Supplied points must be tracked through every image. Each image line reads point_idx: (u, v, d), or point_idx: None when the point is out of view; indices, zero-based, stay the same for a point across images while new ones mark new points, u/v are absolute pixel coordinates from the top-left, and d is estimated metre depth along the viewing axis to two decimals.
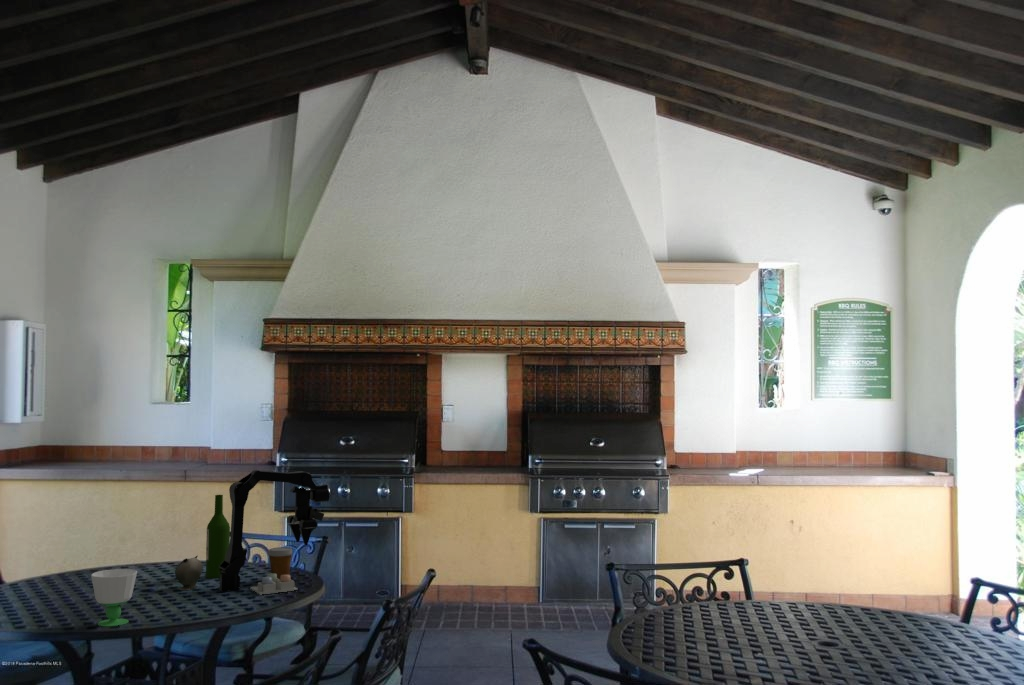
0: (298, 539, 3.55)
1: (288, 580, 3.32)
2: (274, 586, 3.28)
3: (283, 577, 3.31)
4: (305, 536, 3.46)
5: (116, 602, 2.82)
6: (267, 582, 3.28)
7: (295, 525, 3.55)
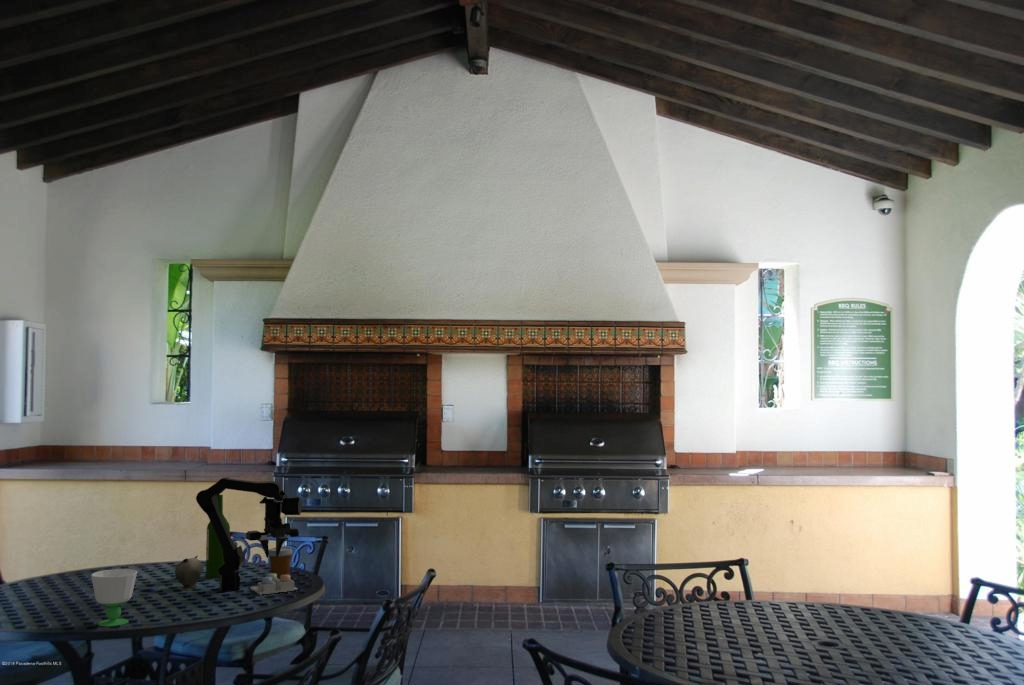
0: (276, 554, 3.37)
1: (288, 580, 3.32)
2: (274, 586, 3.28)
3: (283, 577, 3.31)
4: (263, 548, 3.35)
5: (116, 602, 2.82)
6: (267, 582, 3.28)
7: (277, 538, 3.38)
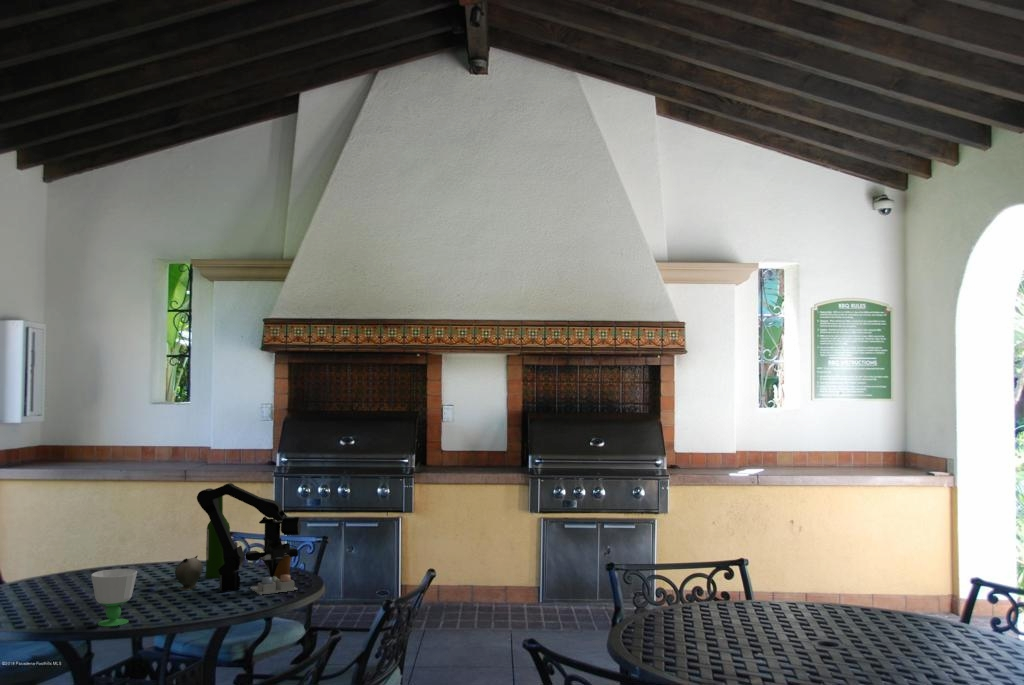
0: None
1: (288, 580, 3.32)
2: (274, 586, 3.28)
3: (283, 577, 3.31)
4: (267, 567, 3.35)
5: (116, 602, 2.82)
6: (267, 582, 3.28)
7: (272, 559, 3.37)
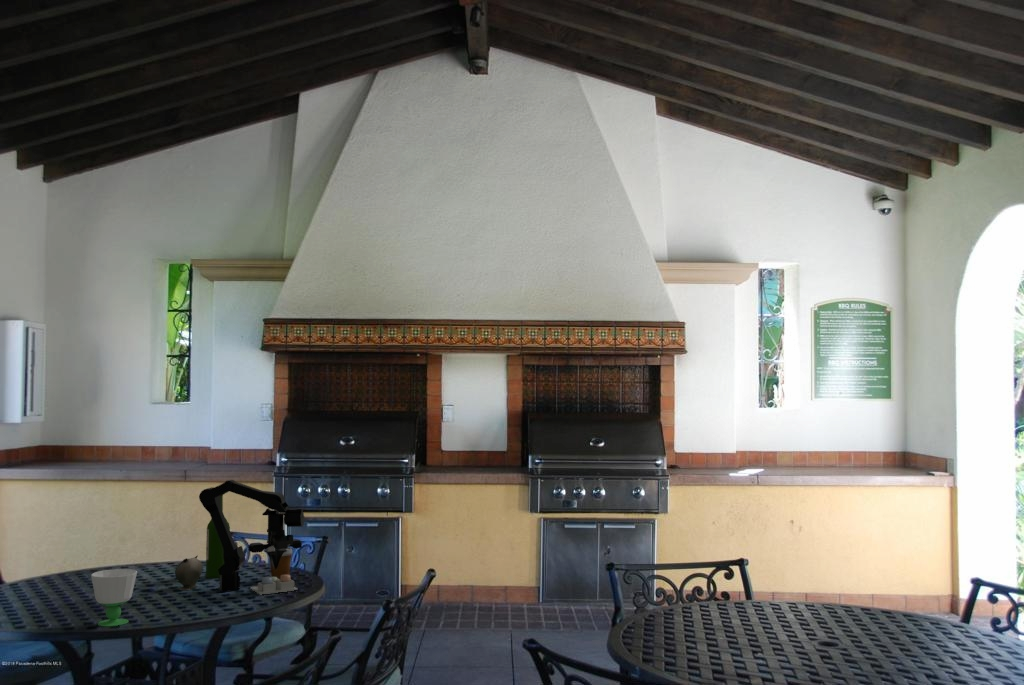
0: None
1: (288, 580, 3.32)
2: (274, 586, 3.28)
3: (283, 577, 3.31)
4: (271, 559, 3.35)
5: (116, 602, 2.82)
6: (267, 582, 3.28)
7: (276, 550, 3.37)
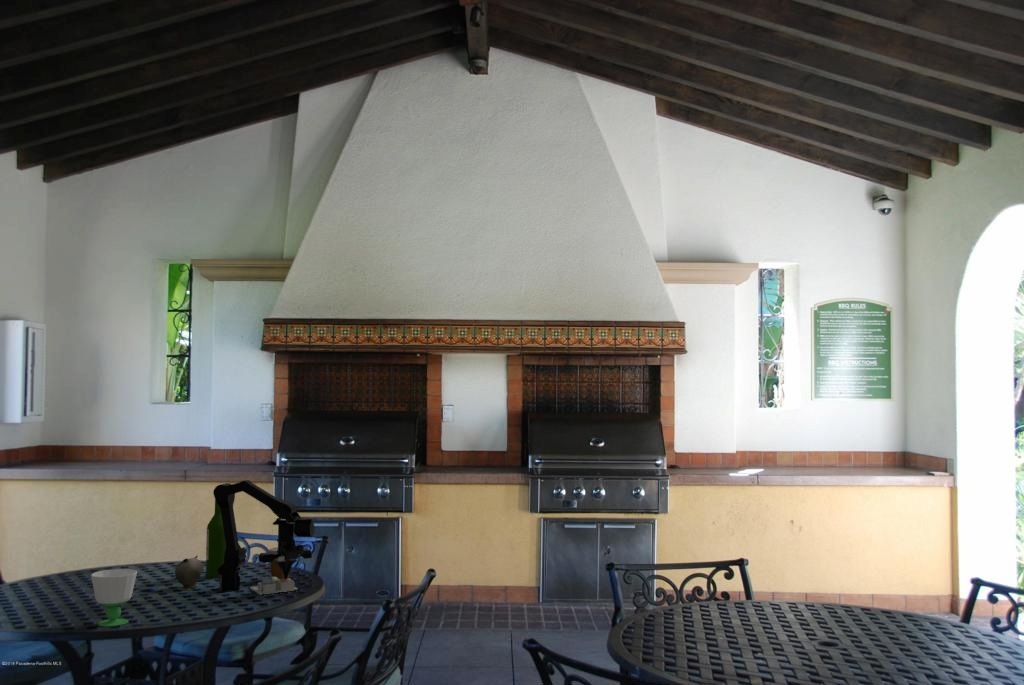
0: None
1: None
2: (274, 586, 3.28)
3: (283, 580, 3.31)
4: (281, 569, 3.33)
5: (116, 602, 2.82)
6: (267, 582, 3.28)
7: (286, 560, 3.35)
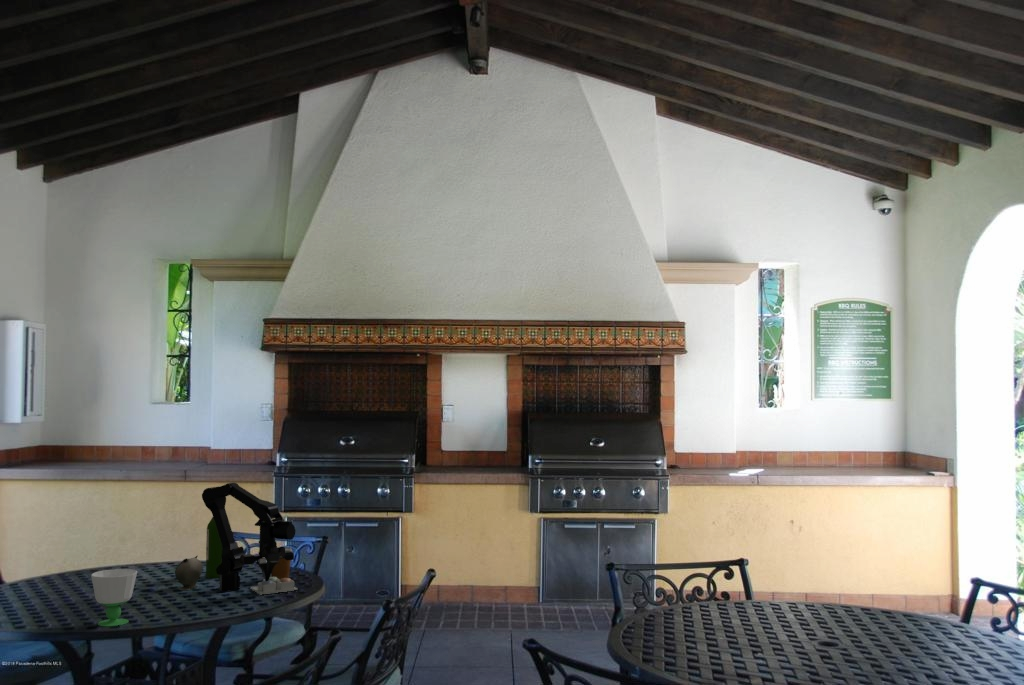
0: None
1: None
2: (274, 586, 3.28)
3: (283, 580, 3.31)
4: (262, 571, 3.29)
5: (116, 602, 2.82)
6: None
7: (268, 562, 3.31)
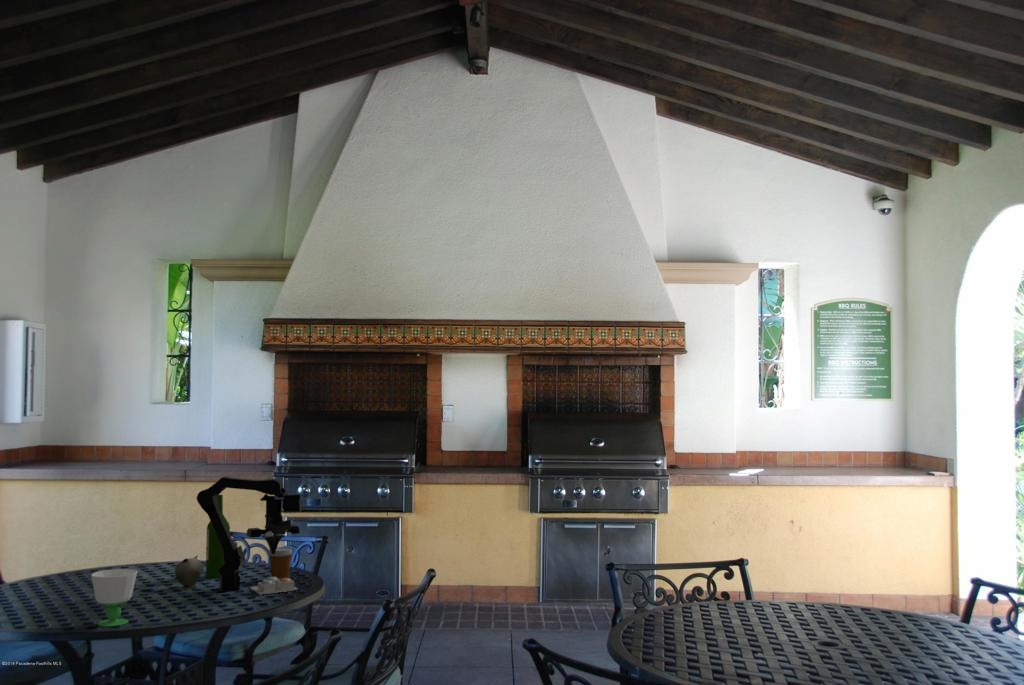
0: None
1: None
2: (274, 586, 3.28)
3: (283, 580, 3.31)
4: (269, 544, 3.36)
5: (116, 602, 2.82)
6: None
7: (274, 536, 3.38)
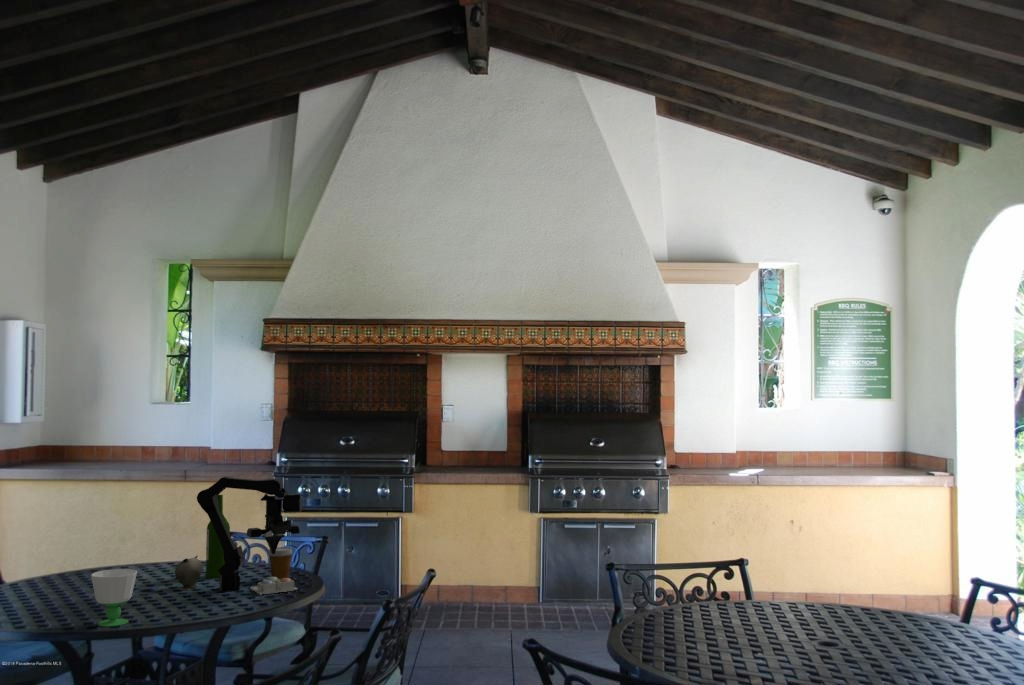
0: None
1: None
2: (274, 586, 3.28)
3: (283, 580, 3.31)
4: (269, 544, 3.37)
5: (116, 602, 2.82)
6: None
7: (274, 536, 3.38)
